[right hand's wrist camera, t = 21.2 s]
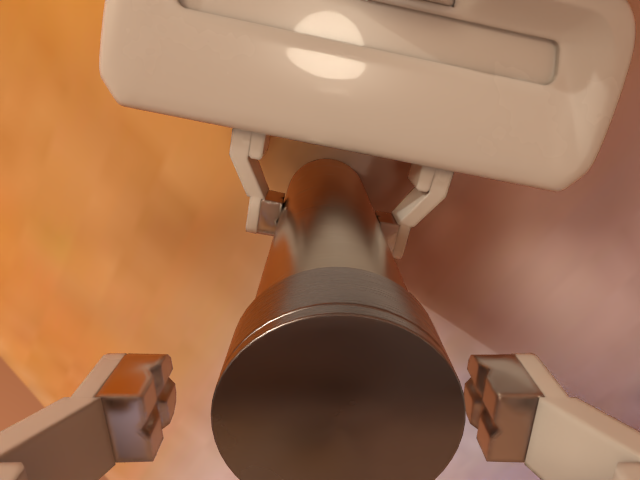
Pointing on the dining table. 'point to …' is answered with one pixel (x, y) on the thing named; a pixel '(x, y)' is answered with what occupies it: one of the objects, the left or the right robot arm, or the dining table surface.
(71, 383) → the dining table surface
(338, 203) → the brown cylinder
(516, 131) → the left robot arm
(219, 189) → the dining table surface
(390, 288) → the lid
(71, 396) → the right robot arm
